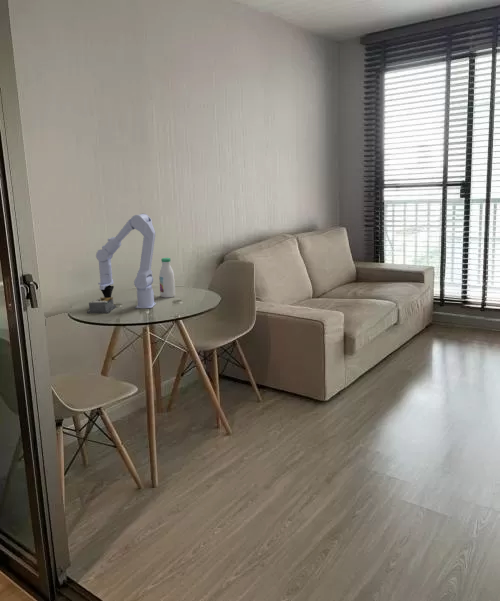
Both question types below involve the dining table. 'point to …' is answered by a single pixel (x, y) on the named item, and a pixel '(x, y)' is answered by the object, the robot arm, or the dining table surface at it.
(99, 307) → the gauge frame
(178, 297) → the dining table surface
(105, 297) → the wooden t-shaped block
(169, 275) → the milk bottle
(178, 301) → the dining table surface
